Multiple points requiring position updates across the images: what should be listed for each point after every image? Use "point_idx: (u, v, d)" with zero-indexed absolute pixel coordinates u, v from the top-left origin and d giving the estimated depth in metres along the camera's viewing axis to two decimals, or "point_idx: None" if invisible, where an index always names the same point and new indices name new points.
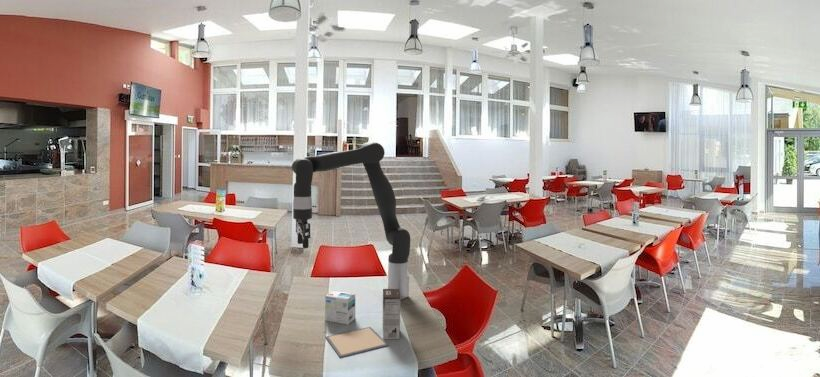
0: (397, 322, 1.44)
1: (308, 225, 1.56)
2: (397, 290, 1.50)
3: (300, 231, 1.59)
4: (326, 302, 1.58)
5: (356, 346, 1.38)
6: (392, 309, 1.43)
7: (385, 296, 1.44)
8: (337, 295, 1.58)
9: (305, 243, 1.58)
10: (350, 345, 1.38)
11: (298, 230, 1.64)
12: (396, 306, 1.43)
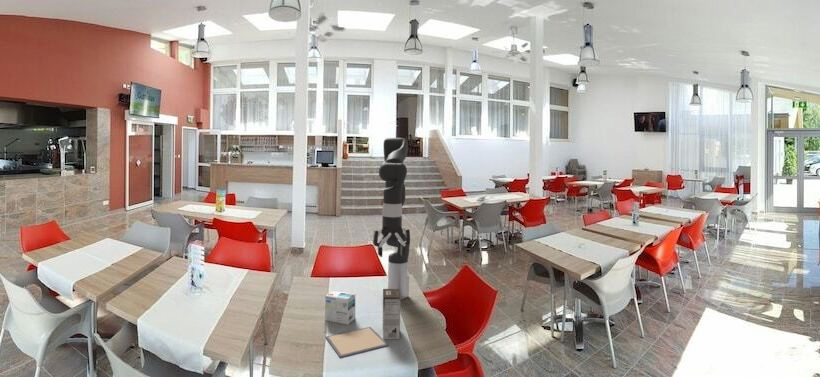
0: (397, 322, 1.44)
1: None
2: (397, 290, 1.50)
3: (399, 239, 1.51)
4: (326, 302, 1.58)
5: (356, 346, 1.38)
6: (392, 309, 1.43)
7: (385, 296, 1.44)
8: (337, 295, 1.58)
9: None
10: (350, 345, 1.38)
11: (385, 241, 1.50)
12: (396, 306, 1.43)
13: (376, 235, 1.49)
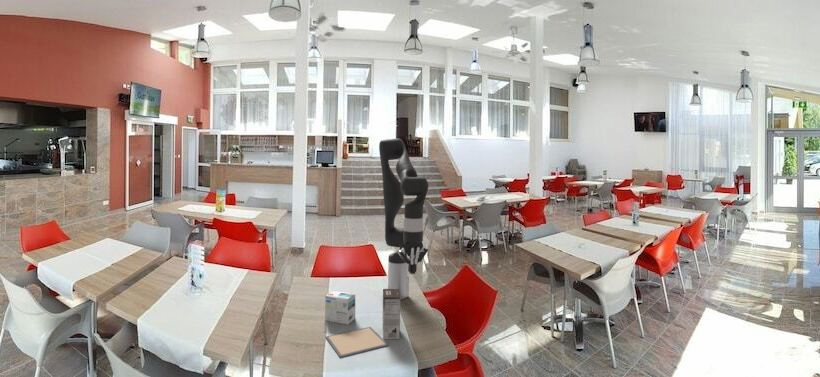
0: (397, 322, 1.44)
1: None
2: (397, 290, 1.50)
3: (416, 255, 1.50)
4: (326, 302, 1.58)
5: (356, 346, 1.38)
6: (392, 309, 1.43)
7: (385, 296, 1.44)
8: (337, 295, 1.58)
9: None
10: (350, 345, 1.38)
11: None
12: (396, 306, 1.43)
13: (403, 255, 1.47)
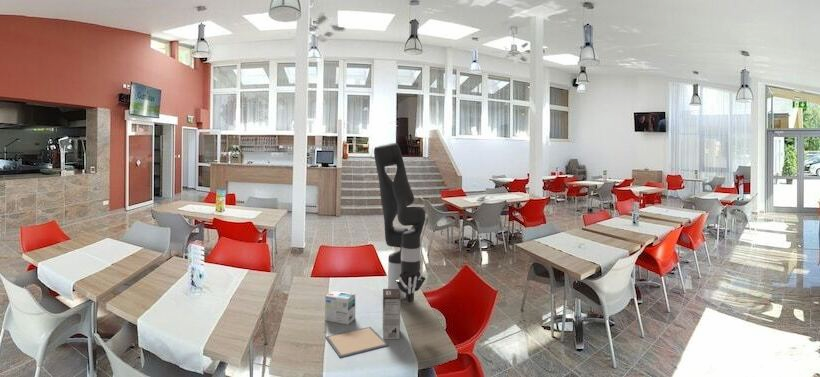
0: (397, 322, 1.44)
1: None
2: (397, 290, 1.50)
3: (414, 284, 1.50)
4: (326, 302, 1.58)
5: (356, 346, 1.38)
6: (392, 309, 1.43)
7: (385, 296, 1.44)
8: (337, 295, 1.58)
9: None
10: (350, 345, 1.38)
11: (410, 285, 1.50)
12: (396, 306, 1.43)
13: (400, 285, 1.48)
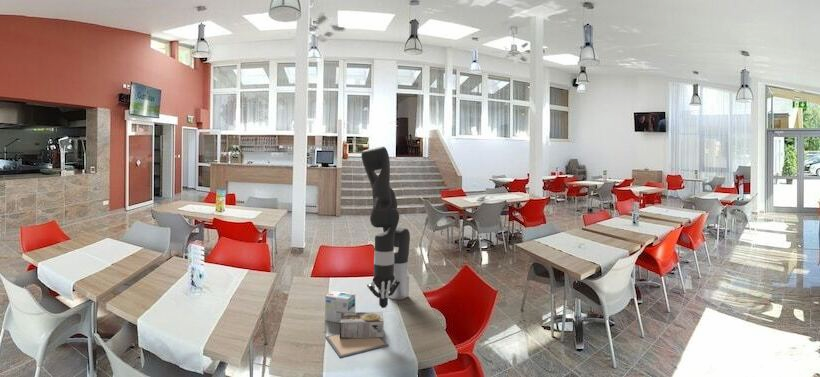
0: (366, 324, 1.43)
1: None
2: (341, 316, 1.49)
3: (387, 288, 1.44)
4: (326, 302, 1.58)
5: (356, 346, 1.38)
6: (352, 329, 1.43)
7: None
8: (337, 295, 1.58)
9: None
10: (350, 345, 1.38)
11: None
12: (348, 325, 1.43)
13: (373, 289, 1.42)
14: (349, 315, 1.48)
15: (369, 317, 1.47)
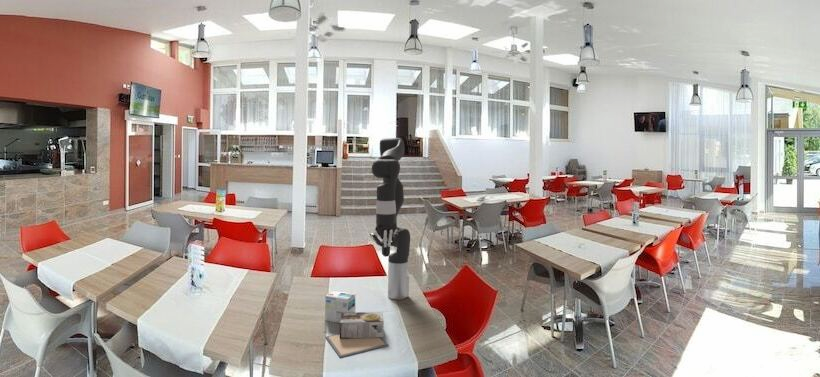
0: (366, 324, 1.43)
1: None
2: (341, 316, 1.49)
3: (390, 237, 1.49)
4: (326, 302, 1.58)
5: (356, 346, 1.38)
6: (352, 329, 1.43)
7: None
8: (337, 295, 1.58)
9: None
10: (350, 345, 1.38)
11: None
12: (348, 325, 1.43)
13: (376, 238, 1.47)
14: (349, 315, 1.48)
15: (369, 317, 1.47)
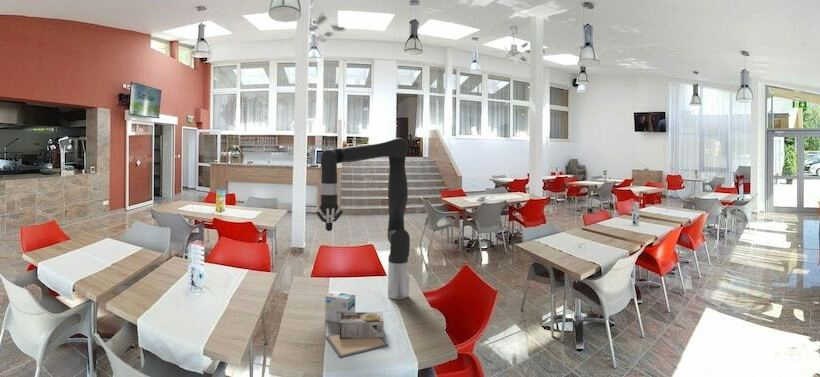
0: (366, 324, 1.43)
1: None
2: (341, 316, 1.49)
3: (332, 215, 1.78)
4: (326, 302, 1.58)
5: (356, 346, 1.38)
6: (352, 329, 1.43)
7: None
8: (337, 295, 1.58)
9: None
10: (350, 345, 1.38)
11: (328, 216, 1.78)
12: (348, 325, 1.43)
13: (319, 215, 1.76)
14: (349, 315, 1.48)
15: (369, 317, 1.47)
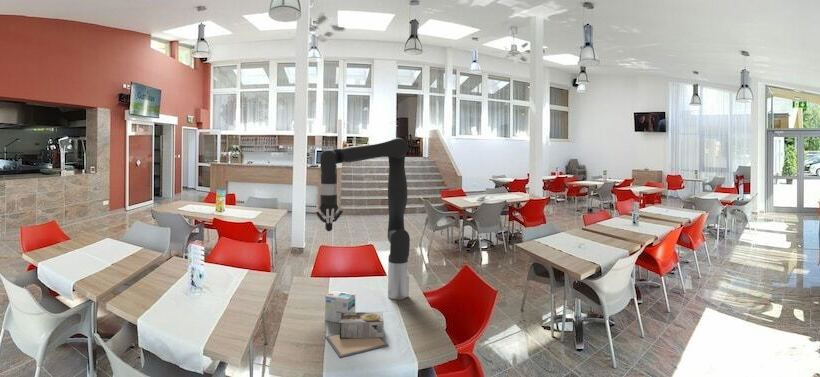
0: (366, 324, 1.43)
1: None
2: (341, 316, 1.49)
3: (331, 215, 1.78)
4: (326, 302, 1.58)
5: (356, 346, 1.38)
6: (352, 329, 1.43)
7: None
8: (337, 295, 1.58)
9: None
10: (350, 345, 1.38)
11: (328, 216, 1.78)
12: (348, 325, 1.43)
13: (319, 215, 1.76)
14: (349, 315, 1.48)
15: (369, 317, 1.47)
